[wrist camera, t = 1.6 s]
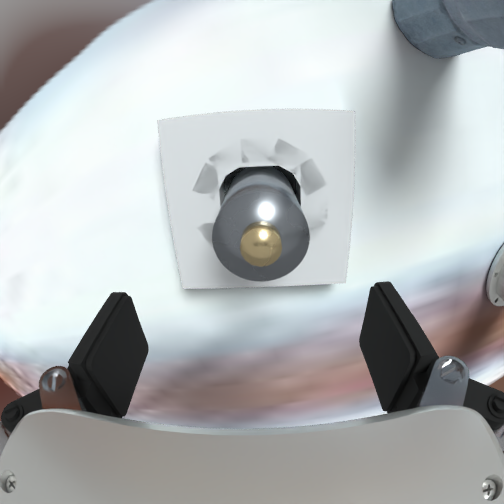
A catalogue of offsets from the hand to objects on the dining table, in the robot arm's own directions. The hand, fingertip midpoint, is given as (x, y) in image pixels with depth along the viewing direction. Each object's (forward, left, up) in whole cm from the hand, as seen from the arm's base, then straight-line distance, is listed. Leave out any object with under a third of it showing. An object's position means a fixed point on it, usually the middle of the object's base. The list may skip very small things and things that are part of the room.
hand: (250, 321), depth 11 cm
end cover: (0, 0, -18) cm, 18 cm away
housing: (0, 0, -18) cm, 18 cm away
